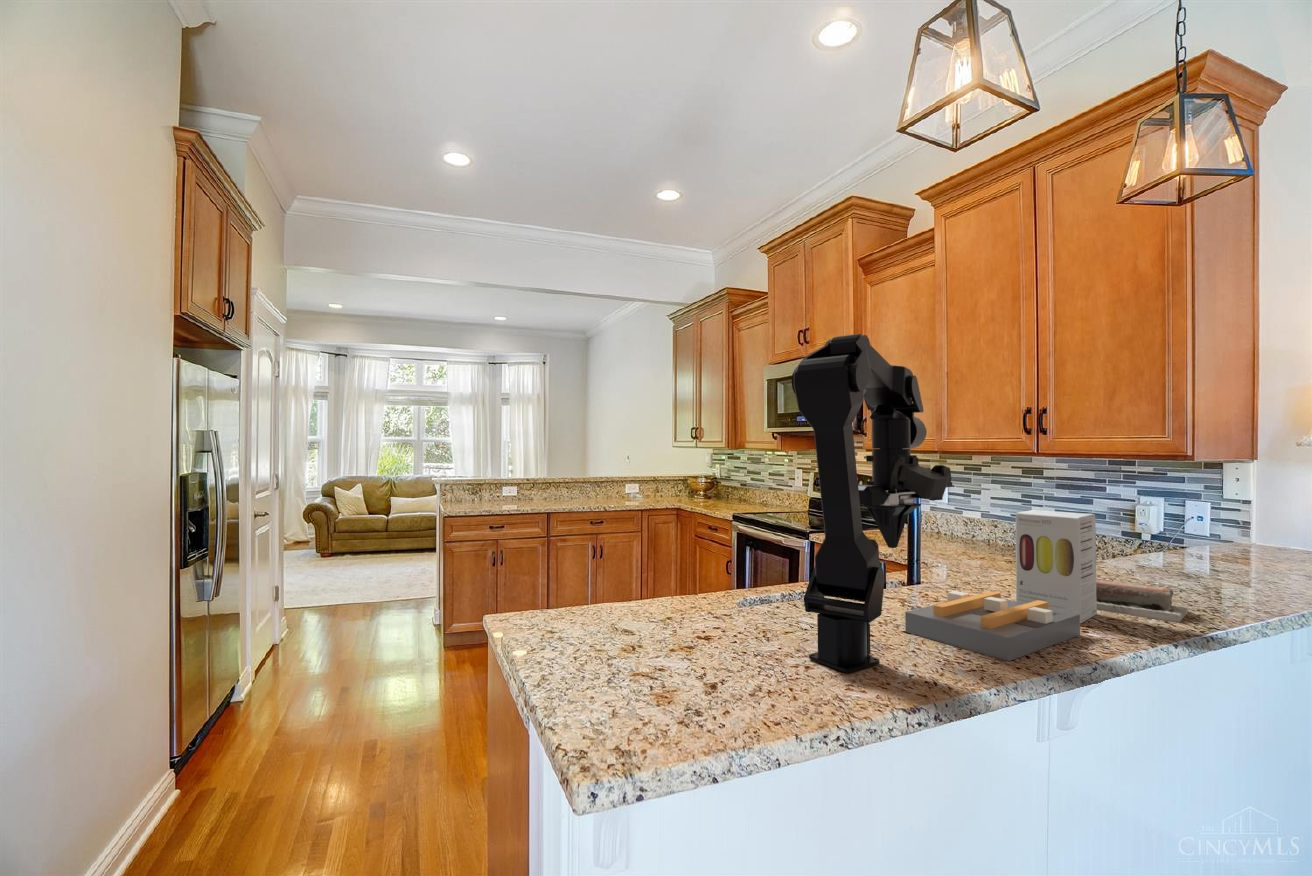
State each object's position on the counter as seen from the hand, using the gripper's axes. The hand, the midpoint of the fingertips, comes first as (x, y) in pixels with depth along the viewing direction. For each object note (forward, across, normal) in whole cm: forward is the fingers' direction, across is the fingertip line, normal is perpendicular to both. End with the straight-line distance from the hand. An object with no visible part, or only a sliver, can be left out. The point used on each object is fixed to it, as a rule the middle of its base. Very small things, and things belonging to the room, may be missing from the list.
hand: (892, 547), depth 94 cm
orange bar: (+9, +8, -14) cm, 19 cm away
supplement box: (+12, +28, -11) cm, 32 cm away
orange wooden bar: (+9, +8, -8) cm, 14 cm away
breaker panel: (+12, +8, -11) cm, 18 cm away
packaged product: (+13, +41, -15) cm, 46 cm away
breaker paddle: (+9, +9, -11) cm, 17 cm away
